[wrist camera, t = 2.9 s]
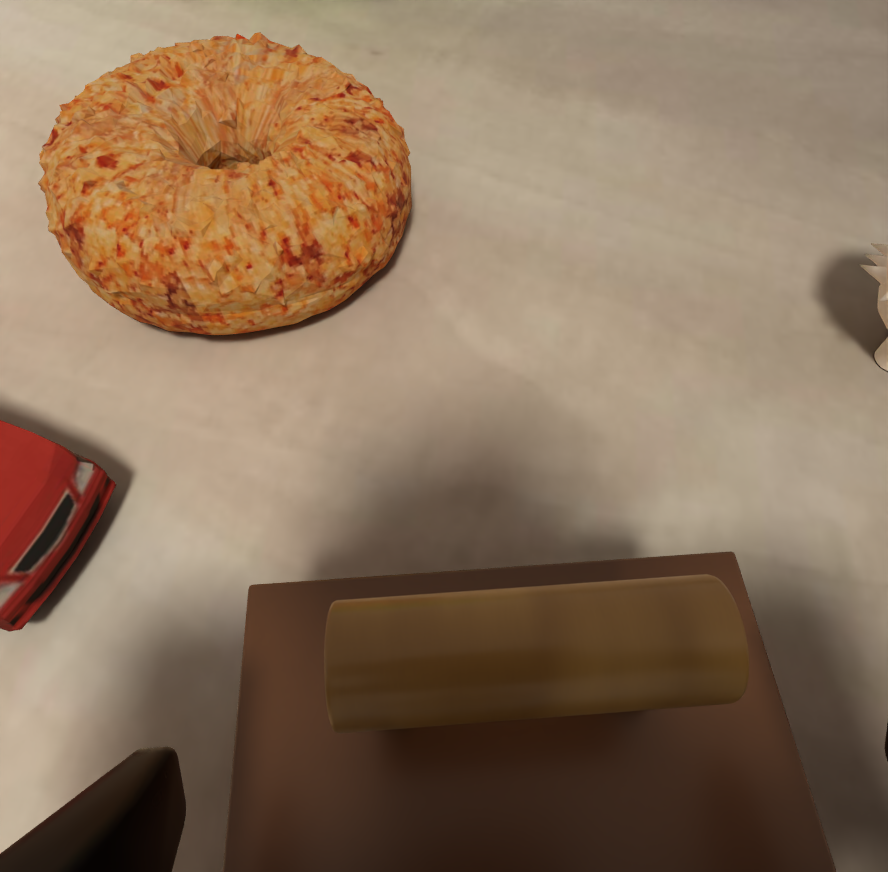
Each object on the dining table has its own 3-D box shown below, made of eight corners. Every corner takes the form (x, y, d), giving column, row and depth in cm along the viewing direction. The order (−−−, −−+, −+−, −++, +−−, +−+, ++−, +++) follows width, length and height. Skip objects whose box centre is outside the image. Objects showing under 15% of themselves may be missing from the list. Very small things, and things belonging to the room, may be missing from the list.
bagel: (51, 378, 22) (-46, 267, 18) (112, 135, 29) (53, 14, 25) (431, 341, 23) (426, 226, 18) (400, 112, 30) (392, -9, 25)
